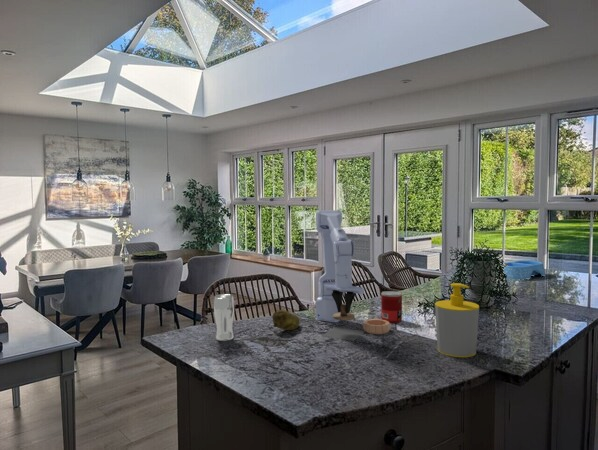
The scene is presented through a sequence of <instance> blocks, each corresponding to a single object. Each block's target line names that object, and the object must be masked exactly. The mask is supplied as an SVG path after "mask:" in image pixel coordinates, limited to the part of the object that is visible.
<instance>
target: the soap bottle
mask: <svg viewBox="0 0 598 450" xmlns="http://www.w3.org/2000/svg"><path fill="white" fill-rule="evenodd" d="M450 287H452V293H451V294H450V296H449V297H450V299H444V300H438V301H436V302H435V304H434V307H435V309H434V310H435V312H434V313H435V324H436V325H435V328H436V343H437V344H436V346H437V351H438V352H439V353H441V354H443V355H446V356H448V357H454V358H470V357H474V356H476V355H477V345H478V343H477V342H478V329H479V328H478V327H479V316H480V314H479V313H480V305H479V304H477V303H475V302H471V301H466V300H464V295H463V294H461V293H462V291H461V289H462V288H464V289H470V286H468V285H466V284H463V283H458V282H457V283H456V282H452V283H450Z"/></svg>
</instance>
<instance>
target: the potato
mask: <svg viewBox="0 0 598 450" xmlns="http://www.w3.org/2000/svg"><path fill="white" fill-rule="evenodd" d="M271 318H272V323H273V326H274V327H277V328H278V329H280V330H286V331H294V330H296V329H297V328H298V327H299V326H300V318H299V316H298V315H296V314H293V313H292V312H289V311H288V310H285V309H280V310H276V311H274V312H273V314H272V317H271Z"/></svg>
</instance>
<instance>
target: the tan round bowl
mask: <svg viewBox="0 0 598 450" xmlns="http://www.w3.org/2000/svg"><path fill="white" fill-rule="evenodd" d="M390 324H391V323H389V322H388V321H386V320H382V318H369V319H365V320H364V321H363V328H362V329H363V331H366V332H365V333H369V334H375V335H381V334H382V335H383V334H387V333H389V332H390V331H391V330H390V329H391V328H390V327H391V325H390Z"/></svg>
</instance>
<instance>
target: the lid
mask: <svg viewBox="0 0 598 450" xmlns="http://www.w3.org/2000/svg"><path fill="white" fill-rule="evenodd" d="M355 317H356V316H355V314H354V313H350V312H349V313H346V303H342V305H340V313H335V314H333V318H334V319H337V320H340V321H351V320H354V319H355Z"/></svg>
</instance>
